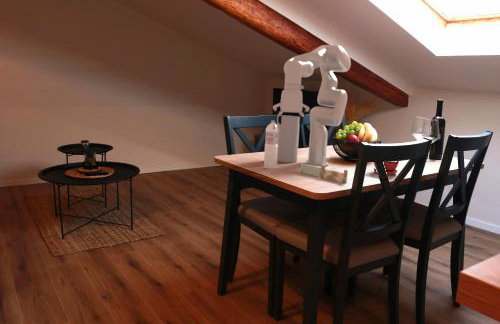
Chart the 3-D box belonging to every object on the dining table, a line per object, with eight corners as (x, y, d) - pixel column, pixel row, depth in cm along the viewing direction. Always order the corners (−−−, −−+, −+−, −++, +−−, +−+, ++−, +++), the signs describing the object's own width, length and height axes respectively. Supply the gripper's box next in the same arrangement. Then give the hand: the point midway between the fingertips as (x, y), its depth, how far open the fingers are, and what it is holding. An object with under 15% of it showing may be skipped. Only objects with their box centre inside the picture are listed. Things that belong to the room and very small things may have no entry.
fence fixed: (319, 177, 199) (320, 165, 198) (321, 177, 200) (323, 164, 199) (345, 183, 190) (346, 170, 188) (347, 183, 191) (348, 170, 190)
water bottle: (260, 168, 216) (263, 119, 210) (270, 166, 220) (273, 119, 215) (269, 171, 211) (272, 121, 205) (279, 169, 215) (282, 120, 210)
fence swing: (321, 176, 200) (321, 167, 199) (319, 177, 199) (319, 167, 198) (301, 172, 208) (302, 163, 207) (299, 172, 207) (300, 163, 206)
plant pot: (392, 170, 224) (394, 148, 222) (401, 176, 212) (404, 153, 209) (367, 169, 224) (370, 147, 222) (375, 175, 211) (378, 152, 209)
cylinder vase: (297, 163, 231) (301, 118, 226) (275, 162, 231) (277, 117, 226) (295, 159, 243) (299, 116, 238) (274, 158, 243) (277, 115, 238)
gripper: (309, 88, 199) (307, 124, 203) (273, 86, 198) (271, 122, 202) (312, 89, 192) (309, 126, 195) (274, 87, 191) (272, 124, 195)
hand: (290, 124), depth 199 cm, fingers open, 9 cm apart
